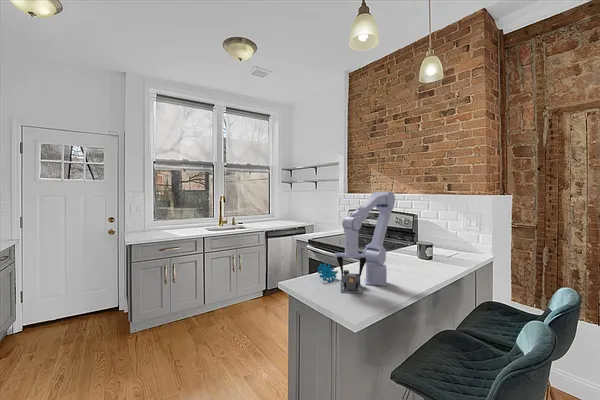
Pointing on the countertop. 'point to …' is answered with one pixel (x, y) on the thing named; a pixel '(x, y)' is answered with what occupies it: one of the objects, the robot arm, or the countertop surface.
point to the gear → (327, 272)
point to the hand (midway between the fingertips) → (351, 274)
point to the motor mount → (343, 283)
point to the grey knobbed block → (350, 281)
